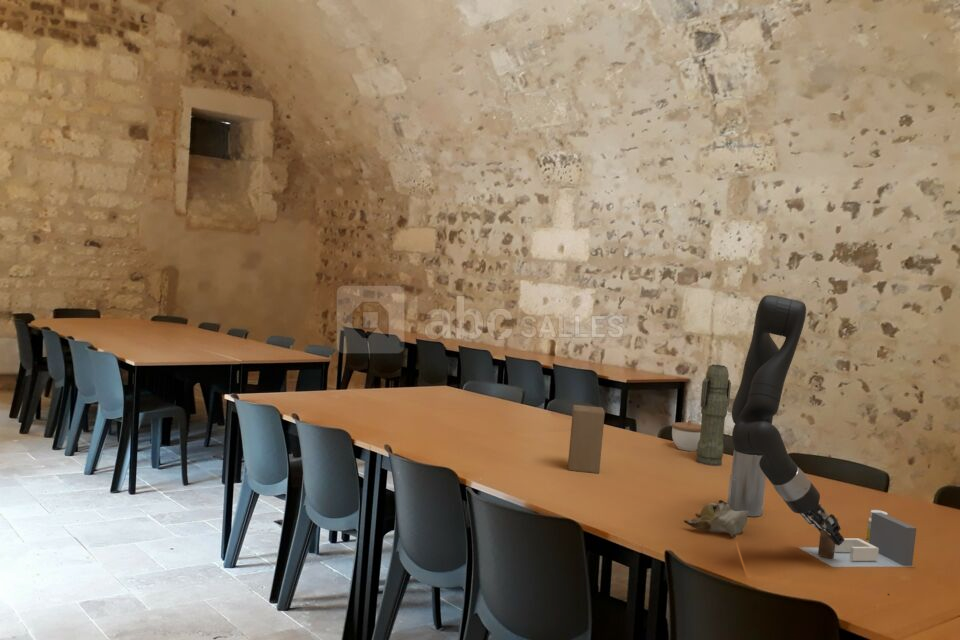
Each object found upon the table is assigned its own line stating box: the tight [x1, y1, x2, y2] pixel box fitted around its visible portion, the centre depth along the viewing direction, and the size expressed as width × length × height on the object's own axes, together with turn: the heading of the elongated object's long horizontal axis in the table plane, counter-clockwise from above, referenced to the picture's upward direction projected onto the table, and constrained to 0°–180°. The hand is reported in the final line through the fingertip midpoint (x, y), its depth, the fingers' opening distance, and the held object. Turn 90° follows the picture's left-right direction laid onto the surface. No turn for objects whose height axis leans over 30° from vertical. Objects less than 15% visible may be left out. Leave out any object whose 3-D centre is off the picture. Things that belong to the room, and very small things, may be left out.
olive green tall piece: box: [696, 364, 732, 467], centre depth 299 cm, size 9×12×35 cm
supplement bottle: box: [866, 509, 889, 541], centre depth 216 cm, size 5×5×8 cm
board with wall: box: [798, 512, 917, 568], centre depth 200 cm, size 22×13×10 cm, turn 103°
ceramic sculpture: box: [683, 499, 749, 538], centre depth 216 cm, size 11×9×15 cm
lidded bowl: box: [671, 419, 701, 452], centre depth 321 cm, size 13×13×11 cm
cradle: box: [835, 537, 879, 561], centre depth 200 cm, size 7×7×3 cm
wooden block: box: [567, 404, 606, 474], centre depth 274 cm, size 10×10×20 cm
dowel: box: [818, 517, 839, 558], centre depth 198 cm, size 4×4×9 cm
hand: (834, 539), depth 199 cm, fingers closed on dowel, 3 cm apart
